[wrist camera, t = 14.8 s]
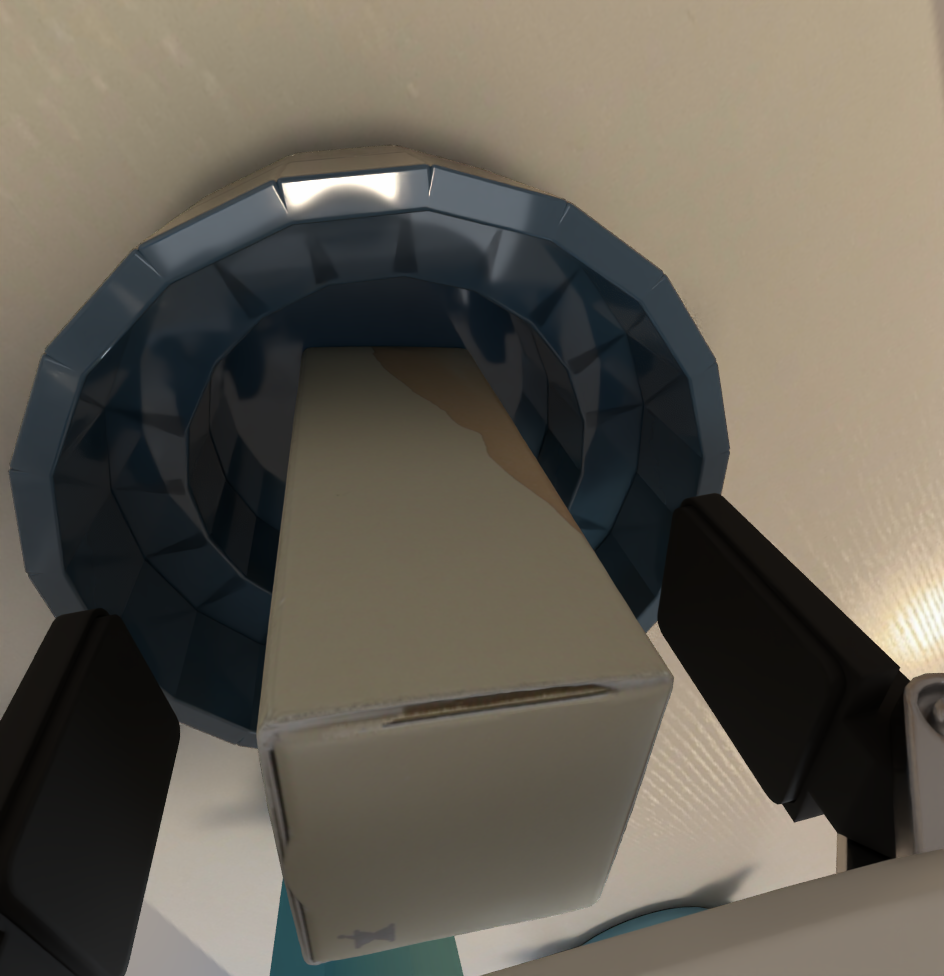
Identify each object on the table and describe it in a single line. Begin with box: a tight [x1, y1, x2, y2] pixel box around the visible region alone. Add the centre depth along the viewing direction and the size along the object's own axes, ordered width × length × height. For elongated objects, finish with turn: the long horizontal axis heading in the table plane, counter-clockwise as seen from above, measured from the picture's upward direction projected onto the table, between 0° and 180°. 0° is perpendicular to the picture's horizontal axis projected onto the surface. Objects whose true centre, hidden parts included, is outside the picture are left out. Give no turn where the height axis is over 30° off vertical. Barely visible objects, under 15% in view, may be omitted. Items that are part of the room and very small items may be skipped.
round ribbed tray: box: [8, 145, 730, 749], centre depth 14 cm, size 13×13×6 cm
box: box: [256, 346, 674, 965], centre depth 11 cm, size 5×4×11 cm
